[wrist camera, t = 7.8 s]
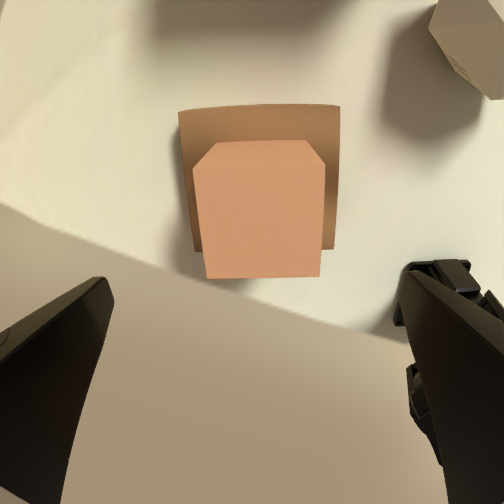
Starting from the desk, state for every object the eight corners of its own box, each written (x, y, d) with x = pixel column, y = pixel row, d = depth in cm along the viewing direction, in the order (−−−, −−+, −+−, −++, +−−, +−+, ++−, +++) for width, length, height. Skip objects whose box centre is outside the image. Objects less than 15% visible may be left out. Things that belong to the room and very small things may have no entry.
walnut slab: (328, 235, 21) (333, 249, 20) (200, 238, 22) (195, 252, 20) (332, 105, 17) (339, 106, 15) (186, 110, 17) (178, 112, 16)
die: (387, 52, 15) (509, 147, 10) (402, -65, 8) (565, 1, 3) (456, 55, 17) (550, 132, 12) (474, -33, 9) (590, 35, 4)
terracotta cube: (304, 221, 19) (319, 276, 13) (223, 223, 19) (206, 278, 14) (306, 140, 16) (325, 164, 11) (216, 142, 16) (192, 168, 11)
